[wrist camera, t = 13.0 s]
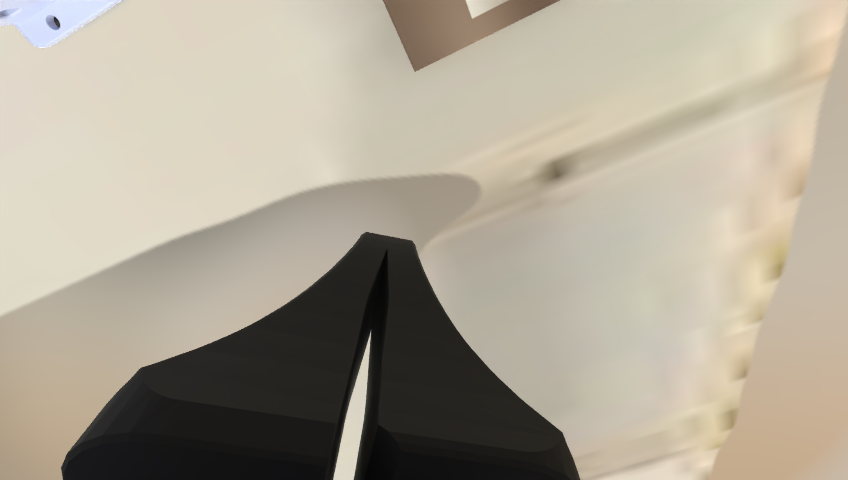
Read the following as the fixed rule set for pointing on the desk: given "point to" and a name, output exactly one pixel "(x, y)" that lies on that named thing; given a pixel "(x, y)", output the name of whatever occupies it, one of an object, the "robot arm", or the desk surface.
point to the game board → (452, 23)
